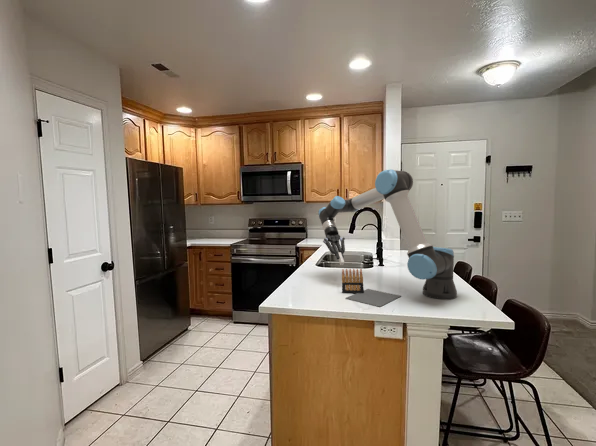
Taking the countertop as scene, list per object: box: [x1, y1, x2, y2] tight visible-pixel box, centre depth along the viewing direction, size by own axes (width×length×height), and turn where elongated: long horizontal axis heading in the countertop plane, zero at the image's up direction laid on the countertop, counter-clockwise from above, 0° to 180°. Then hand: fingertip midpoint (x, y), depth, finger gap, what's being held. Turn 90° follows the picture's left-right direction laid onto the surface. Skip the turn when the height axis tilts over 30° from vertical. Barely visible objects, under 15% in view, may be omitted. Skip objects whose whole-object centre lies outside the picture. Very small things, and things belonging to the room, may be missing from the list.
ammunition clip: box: [341, 268, 365, 294], centre depth 155 cm, size 11×2×12 cm, turn 77°
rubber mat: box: [345, 288, 402, 308], centre depth 148 cm, size 18×20×1 cm
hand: (342, 263), depth 166 cm, fingers closed
